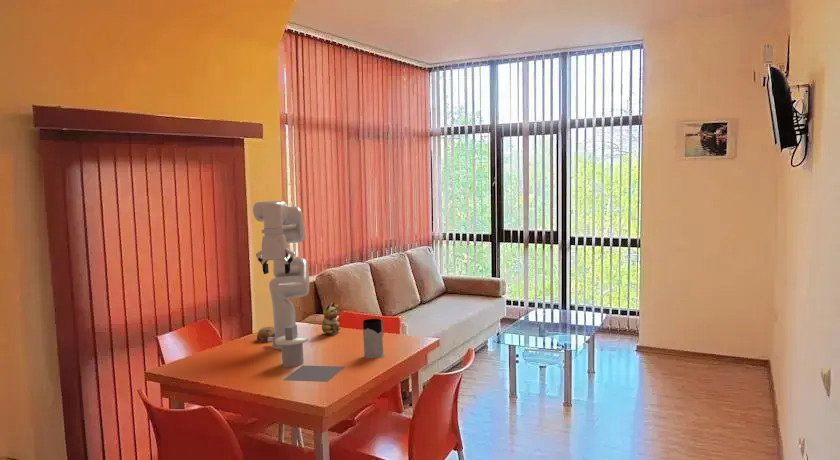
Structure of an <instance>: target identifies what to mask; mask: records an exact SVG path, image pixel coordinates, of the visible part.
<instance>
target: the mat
mask: <svg viewBox="0 0 840 460" xmlns="http://www.w3.org/2000/svg"><path fill="white" fill-rule="evenodd" d="M344 368H346V366H341V365H340V366H337V365H335V366H334V365H333V366H332V365H303V364H302V365H300V367H298V368H297V369H296V370H295V371H293V372H292V373H290V374H289V375H288V376H286V377H285V378H284V379H282V381H288V382H289V381H293V382H298V381H299V382H301V381H302V382H329V381H330V380H332V379H333V378H334V377H335V376H337V375H338V374H339V373H340V372H341V371H342V370H343V369H344Z"/></svg>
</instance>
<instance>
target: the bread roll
mask: <svg viewBox="0 0 840 460" xmlns="http://www.w3.org/2000/svg"><path fill="white" fill-rule="evenodd" d="M268 337H275V331H274V327H271V326H264V327H261V328H260V329H259V330H258V333H257V335H256V341H257V342H259V341H261V342H260V343H269V342H268Z"/></svg>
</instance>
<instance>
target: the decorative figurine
mask: <svg viewBox="0 0 840 460" xmlns="http://www.w3.org/2000/svg"><path fill="white" fill-rule="evenodd" d="M339 307H340V306H339V304H335V302H331V303H330V304H327V305H326V306H325V307H324V309H323V311H322V315H323V318H324V319H323V320H322V322H321V330H322V333H325V335H327V336H328V335H330V336H335V335H337V334H339V333H340V332H339V331H340V330H341V327H340V326H341V323H340V322H339V321H337V320H336V319H337V318H338V310H337V309H339Z"/></svg>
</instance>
